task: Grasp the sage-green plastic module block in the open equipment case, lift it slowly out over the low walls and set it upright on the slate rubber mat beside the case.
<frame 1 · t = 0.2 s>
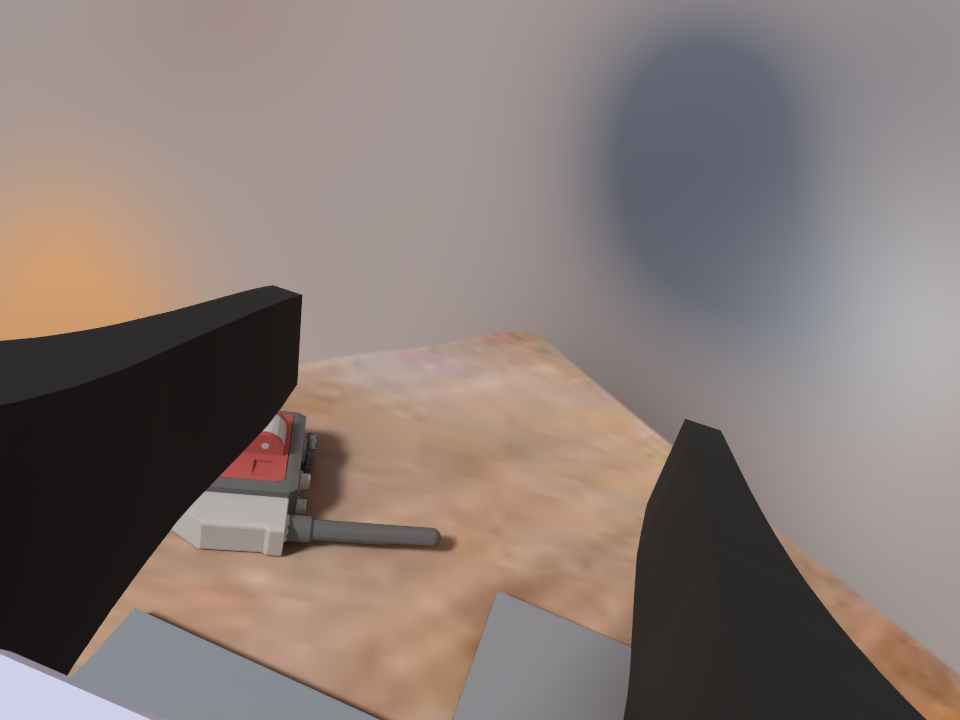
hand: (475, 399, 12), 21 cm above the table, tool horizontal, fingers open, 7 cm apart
walkie-talkie: (249, 497, 37), on the table
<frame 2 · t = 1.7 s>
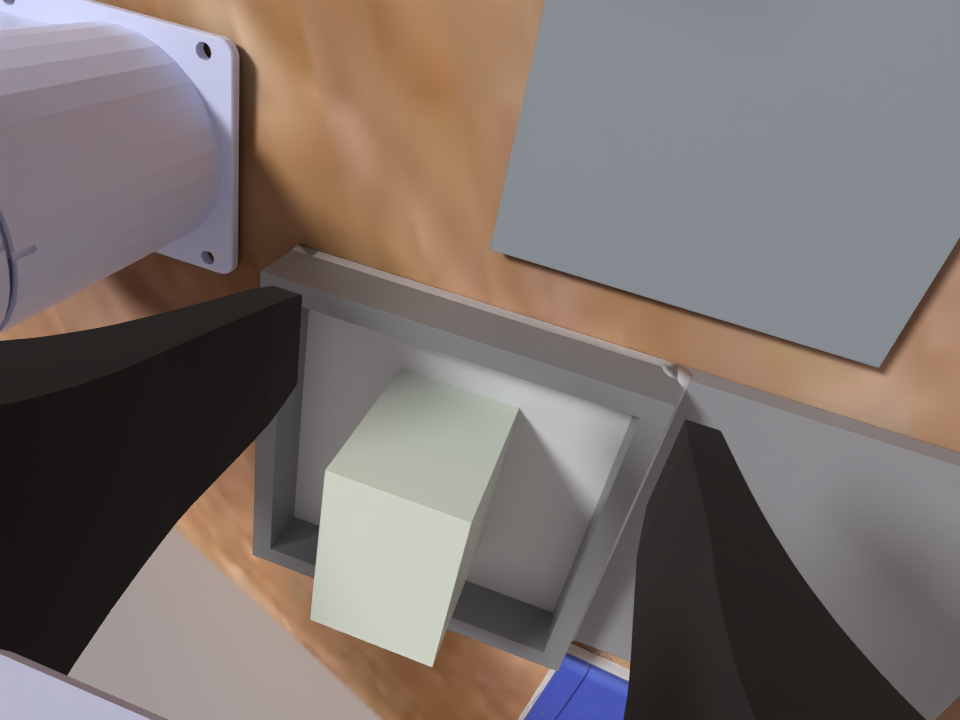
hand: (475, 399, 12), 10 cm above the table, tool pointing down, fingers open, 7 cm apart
equipment case: (447, 452, 27), on the table
slate mat: (757, 100, 18), on the table
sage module: (443, 460, 27), resting on equipment case
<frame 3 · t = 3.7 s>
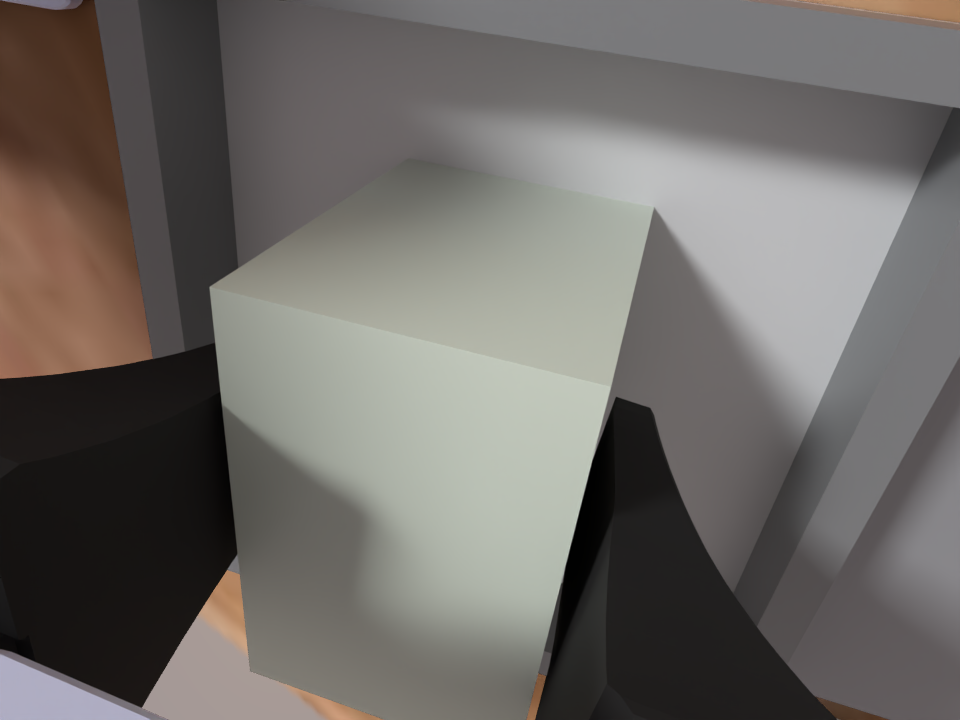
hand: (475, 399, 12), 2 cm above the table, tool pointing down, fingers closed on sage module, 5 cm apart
equipment case: (508, 339, 14), on the table
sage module: (501, 350, 14), point 1 cm above the table, touching equipment case, gripper
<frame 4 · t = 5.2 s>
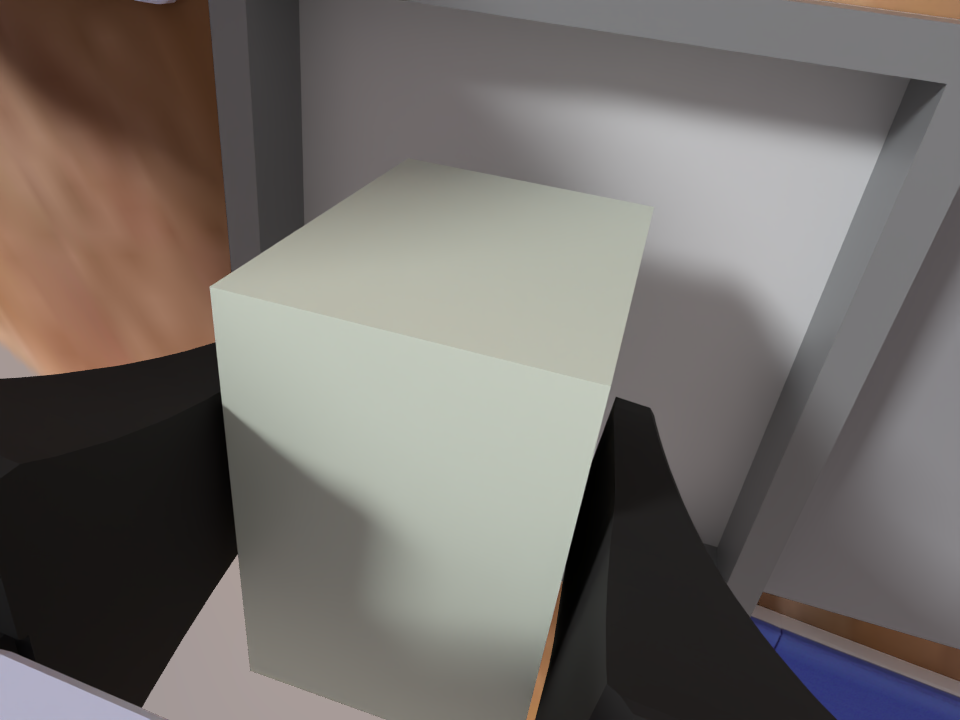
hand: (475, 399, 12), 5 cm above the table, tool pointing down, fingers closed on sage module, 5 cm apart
equipment case: (538, 287, 17), on the table
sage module: (501, 350, 14), point 3 cm above the table, touching gripper
when the fingers open (4 cm above the table, at t = 10.7 s): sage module drops 1 cm, resting on slate mat.
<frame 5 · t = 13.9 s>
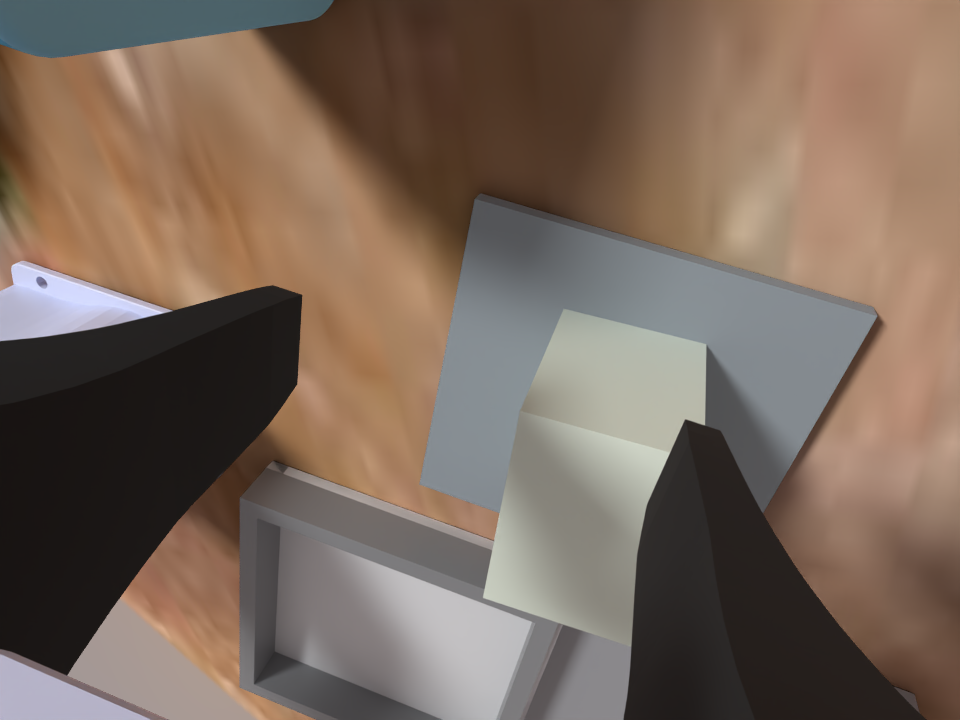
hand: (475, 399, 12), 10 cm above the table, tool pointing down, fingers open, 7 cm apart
equipment case: (397, 613, 33), on the table
slate mat: (610, 405, 24), on the table
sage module: (608, 415, 23), point 1 cm above the table, touching slate mat
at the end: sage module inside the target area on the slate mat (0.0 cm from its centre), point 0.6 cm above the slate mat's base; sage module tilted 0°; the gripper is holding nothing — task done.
